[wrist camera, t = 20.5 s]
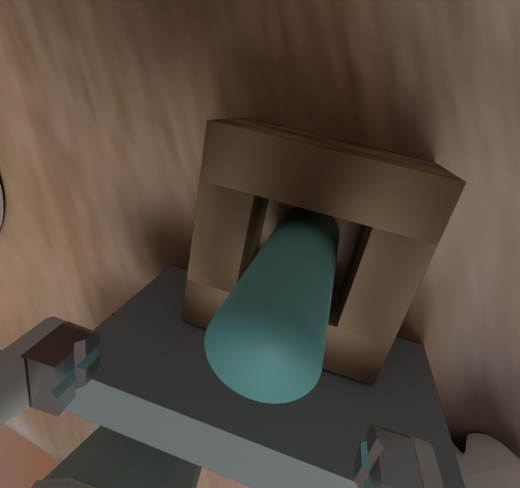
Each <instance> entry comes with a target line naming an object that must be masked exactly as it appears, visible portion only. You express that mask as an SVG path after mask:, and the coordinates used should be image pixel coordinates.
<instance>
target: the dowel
mask: <svg viewBox="0 0 520 488" xmlns="http://www.w3.org/2000/svg"><path fill="white" fill-rule="evenodd" d="M338 245H339V229H338V226H337V224H336V222H335V220H334V219H333V217H332V216H329V215H326V214H322V213H318V212H315V211H311V210H307V209H304V208H300V207H296V208H294V209H292V210H290V211H288V212H287V213H286V214H285V215H284V216H283V218H282V219H281V220H280V222H279V223H278V225H277V226H276V228H275V229H274V231H273V232H272V233H271V235H270V236H269V238H268V239H267V241H266V242H265V244H264V245H263V246H262V248H261V249H260V251H259V252H258V254H257V255H256V257H255V258H254V260H253V261H252V262H251V264H250V265H249V267H248V268H247V270H246V271H245V273H244V274H243V275H242V277H241V278H240V280H239V281H238V283H237V284H236V286H235V287H234V288H233V290H232V291H231V293H230V294H229V296H228V297H227V299H226V300H225V301H224V303H223V304H222V306H221V307H220V309H219V310H218V312H217V313H216V315H215V316H214V317H213V319H212V320H211V322H210V323H209V325H208V328H207V330H206V334H205V340H204V345H205V352H206V356H207V359H208V362H209V364H210V366H211V368H212V369H213V371H214V372H215V374H216V375H217V376H218V377H219V379H220V380H221V381H222V382H223V383H224V384H226V385H227V386H228V387H229V388H230V389H232V390H233V391H235V392H236V393H238V394H240V395H242V396H244V397H246V398H249V399H252V400H255V401H258V402H263V403H271V404H279V403H287V402H291V401H294V400H297V399H299V398H301V397H303V396H305V395H306V394H307V393H309V392H310V391H311V390H312V389H313V388H314V387H315V385H316V384H317V382H318V380H319V378H320V375H321V372H322V366H323V358H324V350H325V343H326V335H327V328H328V320H329V313H330V305H331V298H332V290H333V282H334V275H335V267H336V260H337V252H338Z"/></svg>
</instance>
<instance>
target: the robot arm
mask: <svg viewBox="0 0 520 488" xmlns="http://www.w3.org/2000/svg"><path fill="white" fill-rule="evenodd" d="M2 220H3V195H2V189H1V185H0V228H1V224H2ZM99 343H100V334H99V333H97V332H95V331H93V330H90V329H87V328H84V327H82V326H79V325H76V324H74V323H71V322H67V321H65V320H62V319H59V318H56V317H49V318H46V319H45V320H43V321H42V322H41V323H39V324H38V325H37V326H35V327H34V328H32V329H31V330H30V331H28V332H27V333H26V334H24V335H23V336H21V337H20V338H19V339H17V340H16V341H15V342H13V343H12V344H10V345H9V346H8V347H6V348H5V349H4V350H0V424H1V423H3V422H5V421H7V420H9V419H11V418H13V417H15V416H17V415H19V414H21V413H23V412H25V411H27V410H28V409H30V407H31V408H34V409H37V410H40V411H43V412H46V413H49V414H52V415H55V416H59V415H60V414H61V412H62V411H63V410H64V409H65V408H66V407H67V406H68V405H69V404H70V403H71V401H72V400H73V399H74V398H75V393H76V389H78V388H81V387H83V386H86V385H87V384H88V382H89V381H90V380H91V379H92V378H93V376H94V374H95V373H96V371H97V369H98V366H99V362H100V353H99V351H98V350H97V348H96V347H97V346H98V344H99ZM366 435H367V441H365V442H363V443H361V444H360V446H359V449H358V451H357V454H356V459H355V465H354V481H355V483H356V485H357V486H358V488H444V486H443V482H442V479H441V475H440V471H439V468H438V464H437V460H436V457H435V453H434V449H433V446H432V445H431V444H430V442H427V441H424V440H421V439H418V438H415V437H412V436H408V435H406V434H403V433H400V432H396V431H393V430H390V429H387V428H384V427H381V426H378V425H375V424H372V425H371V426H370V427H369V428H368V430H367V432H366Z"/></svg>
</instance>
